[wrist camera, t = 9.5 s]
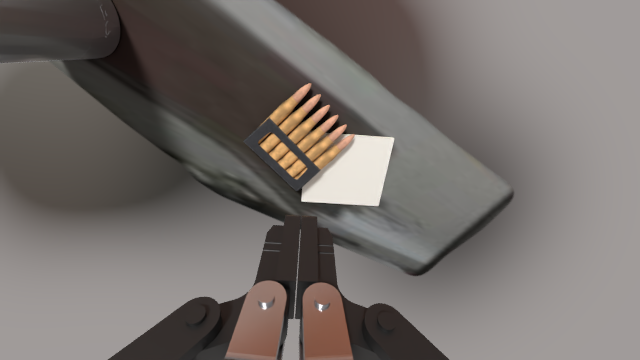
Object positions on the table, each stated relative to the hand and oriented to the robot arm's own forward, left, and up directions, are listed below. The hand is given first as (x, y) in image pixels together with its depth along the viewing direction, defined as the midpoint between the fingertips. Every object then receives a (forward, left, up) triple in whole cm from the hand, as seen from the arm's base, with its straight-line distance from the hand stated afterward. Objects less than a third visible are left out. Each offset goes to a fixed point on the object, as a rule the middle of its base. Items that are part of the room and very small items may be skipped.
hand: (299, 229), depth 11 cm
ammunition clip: (-6, -8, -23) cm, 25 cm away
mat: (+5, -9, -24) cm, 26 cm away
